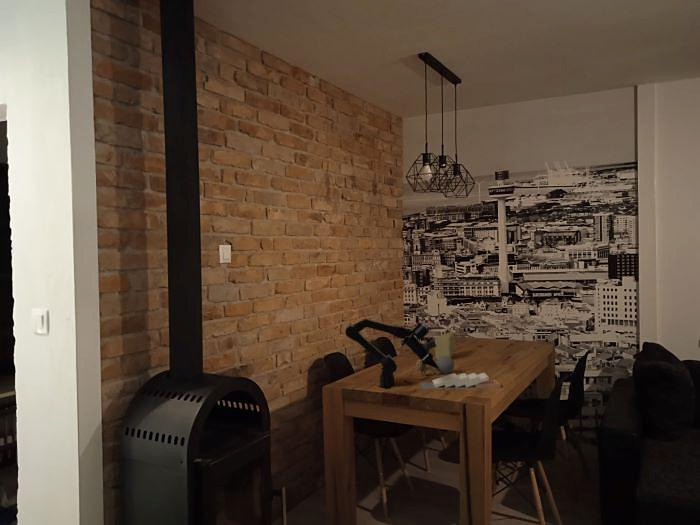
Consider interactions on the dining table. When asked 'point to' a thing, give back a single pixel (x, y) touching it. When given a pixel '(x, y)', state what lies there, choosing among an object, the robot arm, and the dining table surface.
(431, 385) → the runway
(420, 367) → the lion figurine
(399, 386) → the dining table surface
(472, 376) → the tile
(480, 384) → the tile
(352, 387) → the dining table surface
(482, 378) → the tile
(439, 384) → the tile
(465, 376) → the tile
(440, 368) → the decorative ball
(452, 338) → the cheese
